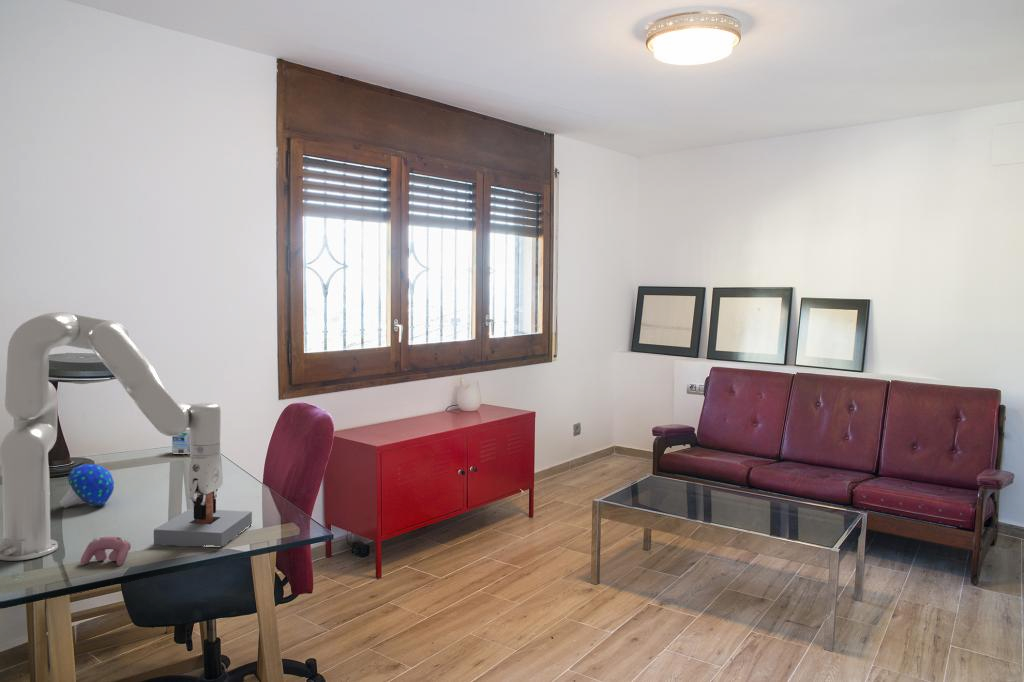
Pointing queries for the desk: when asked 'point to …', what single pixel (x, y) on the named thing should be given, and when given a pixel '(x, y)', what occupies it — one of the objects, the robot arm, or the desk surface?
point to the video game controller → (102, 544)
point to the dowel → (207, 509)
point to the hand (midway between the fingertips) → (204, 515)
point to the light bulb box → (181, 442)
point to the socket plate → (202, 529)
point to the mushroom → (88, 486)
